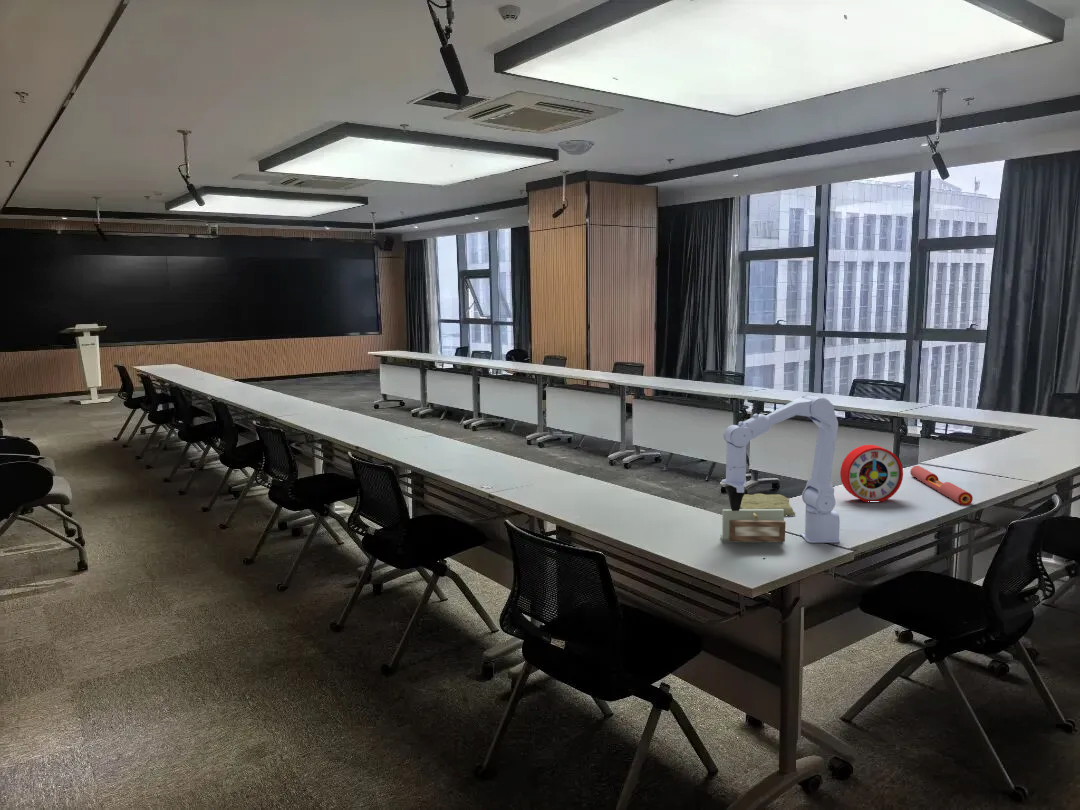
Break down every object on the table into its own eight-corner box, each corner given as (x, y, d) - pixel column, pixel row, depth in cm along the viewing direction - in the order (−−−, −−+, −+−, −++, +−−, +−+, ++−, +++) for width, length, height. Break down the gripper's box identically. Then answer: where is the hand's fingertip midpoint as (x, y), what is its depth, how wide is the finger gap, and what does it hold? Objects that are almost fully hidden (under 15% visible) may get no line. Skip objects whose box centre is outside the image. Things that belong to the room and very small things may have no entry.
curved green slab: (779, 538, 226) (780, 506, 225) (786, 546, 218) (787, 513, 217) (720, 538, 227) (720, 506, 226) (725, 546, 220) (725, 514, 218)
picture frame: (783, 540, 218) (784, 520, 217) (784, 541, 216) (785, 522, 215) (728, 539, 219) (729, 519, 218) (729, 541, 217) (730, 521, 216)
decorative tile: (743, 518, 249) (744, 508, 249) (731, 502, 269) (731, 493, 268) (799, 517, 248) (800, 507, 248) (782, 502, 268) (783, 492, 268)
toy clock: (846, 503, 262) (848, 448, 259) (839, 499, 268) (841, 445, 265) (901, 502, 262) (904, 447, 259) (893, 497, 268) (896, 443, 265)
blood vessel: (972, 506, 257) (973, 492, 256) (957, 506, 257) (958, 492, 256) (922, 477, 298) (923, 465, 297) (909, 477, 298) (910, 465, 298)
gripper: (717, 460, 226) (717, 503, 227) (727, 471, 211) (726, 517, 213) (741, 460, 225) (740, 503, 227) (751, 471, 211) (751, 517, 213)
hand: (735, 510), depth 220 cm, fingers closed
